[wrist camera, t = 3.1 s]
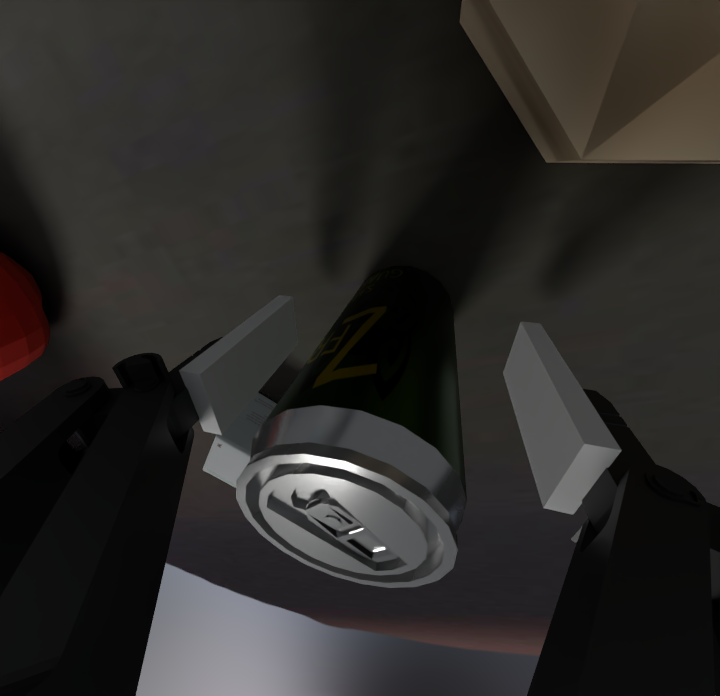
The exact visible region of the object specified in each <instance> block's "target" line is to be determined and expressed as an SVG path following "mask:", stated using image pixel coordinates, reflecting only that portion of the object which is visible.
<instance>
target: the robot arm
mask: <svg viewBox="0 0 720 696" xmlns="http://www.w3.org/2000/svg"><path fill="white" fill-rule="evenodd" d="M298 344H299V342H298V334H297V325H296V317H295V309H294V301H293V297H291V296H282V295H279V296H277V297H276V298H275V299H273V300H272V301H271V302H269V303H268V304H267V305H265V306H264V307H263V308H262V309H260V310H259V311H258V312H256V313H255V314H254V315H252V316H251V317H250V318H248V319H247V320H246V321H244V322H243V323H242V324H240V325H239V326H238V327H236V328H235V329H234V330H232V331H231V332H230V333H228V334H227V335H226V336H224V337H221V338H219V339H216V340H214V341H212V342H210V343H208V344H207V345H205V346H204V347H203V348H201V350H199V351H197V352H196V353H195V354H193V356H190V357H189V358H188V359H186V360H185V361H184V362H182V363H181V364H180V365H178V366H177V367H175V368H174V369H173V370H171V371H170V372H169V373H168V370H167V368H166V366H165V363H164V361H163V359H162V357H161V356H160V355H159V354H155V353H143V354H138V355H134V356H131V357H128V358H126V359H124V360H122V361H120V362H118V363H117V364H116V365H115V366H114V367H113V368H112V369H113V370H114V372H115V374H116V376H117V378H118V379H119V381H120V383H121V385H122V387H123V388H112V389H109V388H108V387H107V385H106V383H105V382H104V380H103V379H101V378H100V377H86V378H80V379H76V380H73V381H71V382H70V383H67V384H65V385H63V386H61V387H60V388H58V389H57V390H55V391H54V392H53V393H51V394H50V395H49V396H48V397H46V398H45V399H44V400H42V401H41V402H40V403H39V404H37V405H36V406H35V407H33V408H32V409H31V410H30V411H28V412H27V413H26V414H24V415H23V416H22V417H21V418H19V419H18V420H17V421H15V422H14V423H13V424H12V425H10V426H9V427H8V428H6V429H5V430H4V431H3V432H1V433H0V696H136V691H137V686H138V682H139V677H140V673H141V669H142V664H143V660H144V655H145V651H146V646H147V642H148V638H149V633H150V628H151V624H152V620H153V615H154V611H155V607H156V602H157V598H158V593H159V589H160V584H161V579H162V576H163V571H164V567H165V562H166V558H167V553H168V549H169V545H170V540H171V536H172V531H173V527H174V522H175V518H176V514H177V509H178V505H179V500H180V496H181V491H182V487H183V483H184V478H185V474H186V469H187V465H188V460H189V456H190V452H191V447H192V443H193V438H194V431H193V428H192V426H193V425H194V424H195V423H196V422H197V421H198V420H199V421H200V423H201V426H202V428H203V431H205V432H210V433H214V434H219V435H222V434H223V433H224V432H225V431H226V430H227V428H228V427H229V426H230V425H231V424H232V423H233V421H234V420H235V419H236V418H237V417H238V415H239V414H240V413H241V412H242V411H243V409H244V408H245V407H246V406H247V405H248V403H249V402H250V401H251V400H252V399H253V398H254V396H255V395H256V394H257V393H258V392H259V390H260V389H261V388H262V387H263V386H264V384H265V383H266V382H267V381H268V380H269V378H270V377H271V376H272V375H273V374H274V372H275V371H276V370H277V369H278V368H279V367H280V365H281V364H282V363H283V362H284V361H285V359H286V358H287V357H288V356H289V355H290V353H291V352H292V351H293V350H294V349H295V347H296V346H297V345H298ZM503 375H504V378H505V381H506V385H507V388H508V391H509V395H510V398H511V401H512V405H513V408H514V412H515V415H516V418H517V422H518V425H519V428H520V432H521V435H522V438H523V442H524V445H525V448H526V452H527V455H528V458H529V462H530V465H531V468H532V472H533V475H534V479H535V482H536V485H537V489H538V492H539V495H540V499H541V502H542V505H543V508H546V509H550V510H555V511H559V512H564V513H568V514H572V515H573V514H574V513H575V511H576V510H577V509H578V508H579V506H580V505H581V504H582V503H583V505H584V507H585V510H586V512H587V515H588V517H589V518H588V520H587V521H586V522H585V523H584V524H583V526H582V527H581V528H580V529H579V530H578V532H577V533H576V534H575V535H574V537H573V538H572V539H571V540H572V541H574V542H575V543H576V542H577V544H576V547H575V550H574V553H573V556H572V560H571V563H570V566H569V569H568V572H567V575H566V578H565V581H564V584H563V587H562V590H561V593H560V596H559V599H558V602H557V605H556V608H555V612H554V615H553V618H552V621H551V624H550V627H549V630H548V633H547V636H546V639H545V642H544V645H543V648H542V651H541V654H540V657H539V661H538V664H537V667H536V670H535V673H534V676H533V679H532V682H531V685H530V688H529V691H528V694H527V696H715V695H716V696H720V507H717V506H715V505H712V504H710V503H707V502H706V500H705V498H704V497H703V496H702V494H701V493H700V492H699V491H698V490H697V488H696V487H694V486H693V485H692V484H691V483H689V482H688V481H687V480H686V479H684V478H683V477H681V476H680V475H678V474H676V473H674V472H673V471H671V470H669V469H667V468H664V467H661V466H659V465H656V464H655V463H654V461H653V460H652V459H651V457H650V456H649V455H648V453H647V452H646V450H645V449H644V448H643V446H642V445H641V444H640V442H639V441H638V439H637V438H636V437H635V435H634V434H633V433H632V431H631V430H630V428H628V427H627V424H626V423H625V422H624V420H623V419H622V417H619V413H618V412H617V411H616V409H615V408H614V406H613V405H612V404H611V402H609V401H608V400H607V399H606V398H604V397H603V396H602V395H600V394H599V393H598V392H597V391H593V390H586V389H582V388H581V386H580V385H579V383H578V381H577V380H576V378H575V377H574V375H573V374H572V372H571V371H570V369H569V367H568V366H567V364H566V363H565V361H564V360H563V358H562V356H561V355H560V353H559V352H558V350H557V349H556V347H555V346H554V344H553V342H552V341H551V339H550V338H549V336H548V335H547V333H546V332H545V330H544V328H543V327H542V325H541V324H539V323H530V322H521V323H520V325H519V328H518V331H517V334H516V337H515V340H514V343H513V346H512V349H511V351H510V354H509V357H508V360H507V363H506V366H505V369H504V372H503ZM73 433H75V434H76V435H77V437H78V438H79V439H80V440H81V442H82V444H81V445H80V447H78V448H77V449H76V450H74V449H72V448H71V446H70V445H69V444H68V443H67V441H66V440H67V439H68V438H69V437H70V436H71V435H72V434H73Z"/></svg>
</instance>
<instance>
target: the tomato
mask: <svg viewBox="0 0 720 696" xmlns="http://www.w3.org/2000/svg"><path fill="white" fill-rule="evenodd" d="M49 337H50V328H49V322H48V320H47V317H46V315H45V312H44V311H43V308H42V294H41V292H40V289H39V288H38V286H37V284H36V282H35V280H34V278H33V276H32V274H31V273H29V272H28V271H27V270H26V269H24V268H23V267H22V266H21V265H19V264H18V263H17V262H16V261H14V260H13V259H12V258H10V257H9V256H7V255H5V254H4V253H2V252H1V251H0V381H1V380H3V379H5V378H7V377H9V376H10V375H12V374H14V373H16V372H18V371H19V370H21V369H23V368H25V367H26V366H28V365H29V364H30V363H32V362H33V361H34V360H36V359H37V358H38V357H40V356H41V355H42V354H43V352H44V350H45V348H46V347H47V345H48V342H49Z"/></svg>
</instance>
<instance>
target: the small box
mask: <svg viewBox="0 0 720 696" xmlns="http://www.w3.org/2000/svg"><path fill="white" fill-rule="evenodd" d="M276 405H277V404H276V403H275V402H273V401H272V400H270V399H268V398H267V397H265V396H263V395H262V394H260V393H259V392H258V393H257V394H256V395H255V396H254V398H253V399H252V400H251V401H250V402H249V403H248V405H247V406H246V407H245V408H244V409H243V411H242V412H241V413H240V414H239V415H238V417H237V418H236V419H235V420H234V421H233V423H232V424H231V425H230V426H229V427H228V428H227V430H226V431H225V432H224V433H223V434H222V435H219V434H216V437H215V439H214V442H213V444H212V447H211V450H210V452H209V455H208V457H207V460H206V462H205V465H204V467H203V470H204V471H206V472H208V473H210V474H211V475H213V476H215V477H217V478H219V479H221V480H222V481H224V482H226V483H228V484H230V485H231V486H233V487H235V488H236V480H237V479H238V477H239V476H240V474H241V473H242V471H243V470H244V468H245V467H246V466H247V464H248V463H249V462H250V456H251V448H252V440H253V438H254V436H255V435H256V433H257V432H258V430H259V429H260V427H261V426H262V424H263V423H264V421H265V420H266V419H267V417H268V416H269V414H270V413H271V412H272V410H273V409H274V407H275V406H276Z"/></svg>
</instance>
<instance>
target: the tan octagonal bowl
mask: <svg viewBox="0 0 720 696" xmlns="http://www.w3.org/2000/svg"><path fill="white" fill-rule="evenodd" d="M460 24H461V26H462V27H463V29H464V30H465V32H466V34H467V35H468V37H469V39H470V40H471V42H472V43H473V45H474V47H475V48H476V50H477V51H478V53H479V55H480V56H481V58H482V60H483V61H484V63H485V64H486V66H487V68H488V69H489V71H490V72H491V74H492V76H493V77H494V79H495V81H496V82H497V84H498V85H499V87H500V89H501V90H502V92H503V93H504V95H505V97H506V98H507V100H508V102H509V103H510V105H511V106H512V108H513V110H514V111H515V113H516V114H517V116H518V118H519V119H520V121H521V123H522V124H523V126H524V127H525V129H526V131H527V132H528V134H529V135H530V137H531V139H532V140H533V142H534V144H535V145H536V147H537V148H538V150H539V152H540V153H541V155H542V156H543V158H544V160H545V161H546V163H697V164H720V0H462V5H461V14H460Z"/></svg>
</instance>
